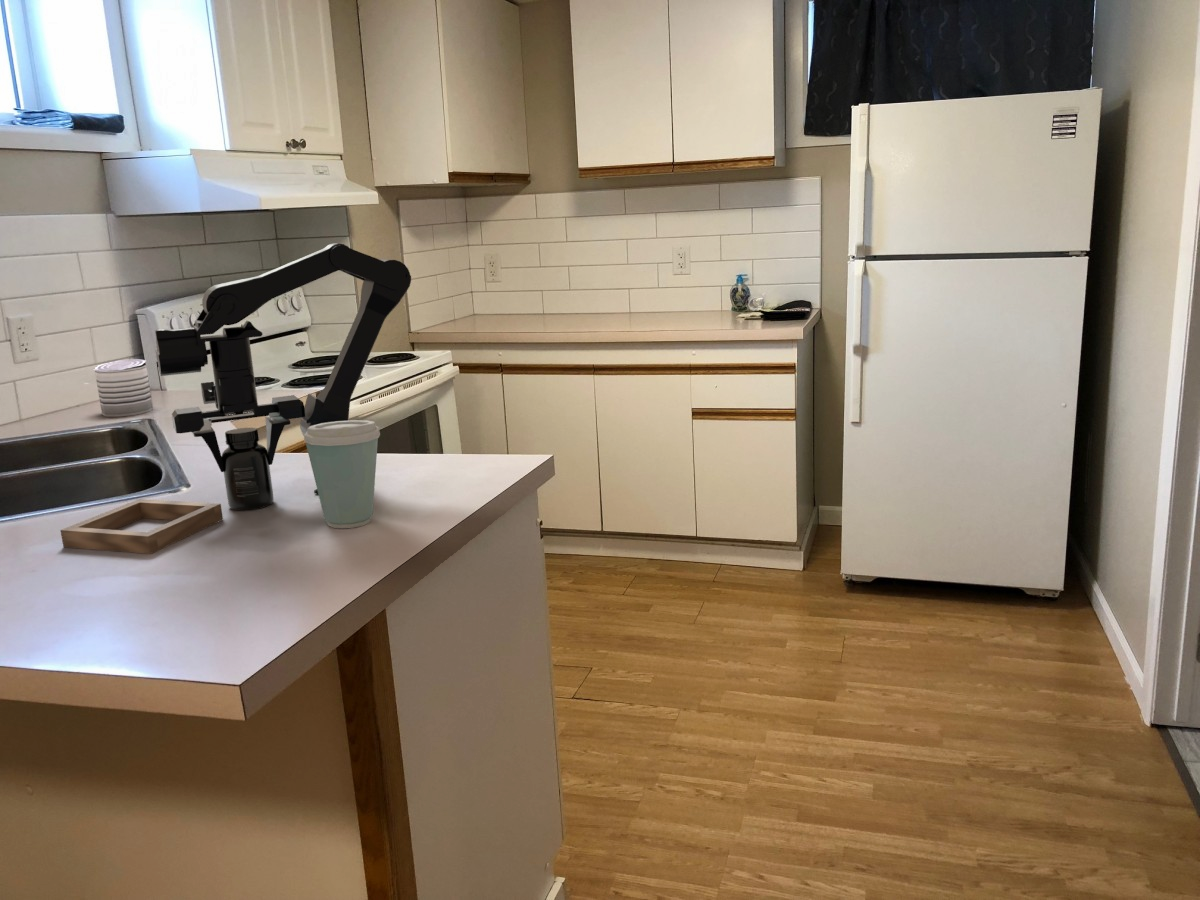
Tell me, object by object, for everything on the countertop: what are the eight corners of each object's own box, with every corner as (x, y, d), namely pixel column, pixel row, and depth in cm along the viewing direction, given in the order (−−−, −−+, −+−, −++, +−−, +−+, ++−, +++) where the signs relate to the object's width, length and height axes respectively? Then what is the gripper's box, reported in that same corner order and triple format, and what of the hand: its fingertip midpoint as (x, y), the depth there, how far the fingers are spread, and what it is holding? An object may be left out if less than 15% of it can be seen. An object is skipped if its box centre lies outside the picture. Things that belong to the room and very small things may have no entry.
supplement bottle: (283, 499, 156) (274, 426, 153) (255, 512, 149) (245, 436, 146) (247, 497, 158) (237, 424, 155) (218, 510, 152) (208, 434, 149)
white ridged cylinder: (163, 409, 238) (155, 360, 235) (119, 418, 229) (111, 367, 226) (135, 405, 244) (127, 358, 241) (91, 414, 235) (83, 365, 232)
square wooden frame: (223, 519, 146) (220, 503, 146) (150, 553, 133) (147, 536, 132) (141, 514, 151) (139, 499, 150) (63, 547, 137) (60, 530, 136)
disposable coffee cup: (309, 518, 145) (297, 419, 142) (381, 506, 149) (371, 410, 146) (319, 538, 136) (306, 433, 132) (396, 525, 140) (385, 423, 136)
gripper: (286, 356, 159) (297, 448, 163) (162, 369, 151) (177, 466, 155) (299, 364, 150) (311, 462, 154) (168, 378, 142) (184, 482, 145)
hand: (246, 467), depth 152 cm, fingers closed on supplement bottle, 7 cm apart
